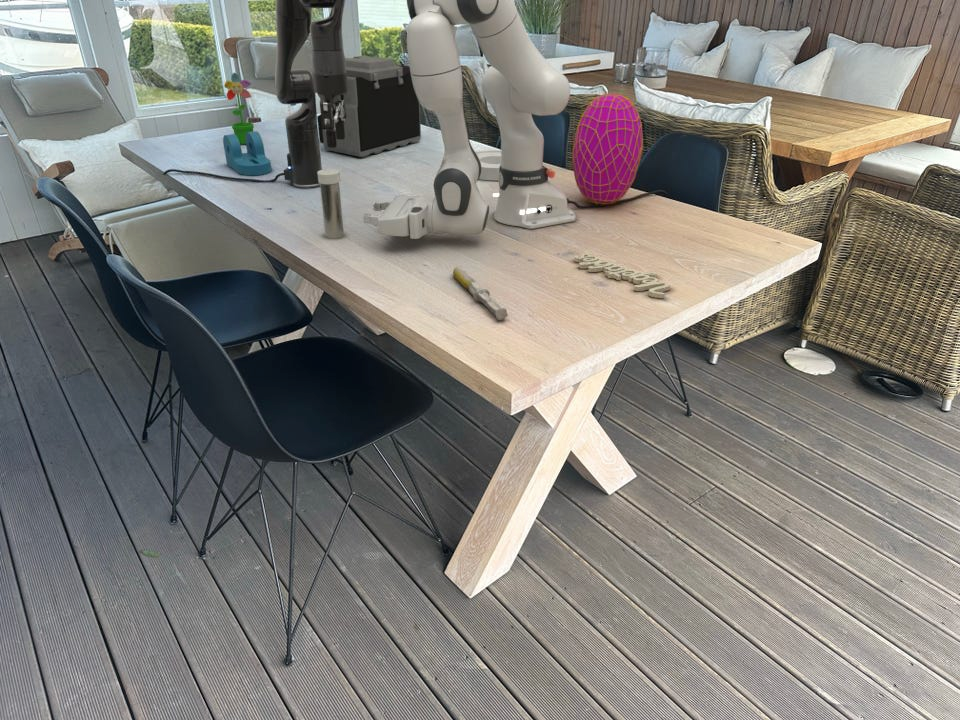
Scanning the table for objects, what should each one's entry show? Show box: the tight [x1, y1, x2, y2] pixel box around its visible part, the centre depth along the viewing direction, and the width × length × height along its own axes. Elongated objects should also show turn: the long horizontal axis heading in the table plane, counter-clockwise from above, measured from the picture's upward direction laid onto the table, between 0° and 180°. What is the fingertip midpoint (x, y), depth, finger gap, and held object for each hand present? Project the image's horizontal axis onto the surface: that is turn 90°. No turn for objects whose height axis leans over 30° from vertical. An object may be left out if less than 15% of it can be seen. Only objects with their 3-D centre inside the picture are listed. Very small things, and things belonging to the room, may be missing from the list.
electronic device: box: [310, 55, 422, 159], centre depth 250 cm, size 37×22×30 cm, turn 144°
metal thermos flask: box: [319, 182, 345, 240], centre depth 172 cm, size 5×5×16 cm
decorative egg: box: [571, 92, 644, 205], centre depth 194 cm, size 19×19×30 cm
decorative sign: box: [574, 252, 671, 299], centre depth 155 cm, size 26×1×10 cm
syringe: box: [452, 266, 509, 321], centre depth 145 cm, size 25×4×3 cm, turn 21°
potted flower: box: [223, 72, 255, 145], centre depth 254 cm, size 9×8×25 cm
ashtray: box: [475, 149, 501, 182], centre depth 229 cm, size 23×23×4 cm
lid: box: [317, 168, 341, 184], centre depth 168 cm, size 5×5×2 cm
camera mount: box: [222, 131, 272, 176], centre depth 226 cm, size 18×10×10 cm, turn 35°
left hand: (336, 143), depth 166 cm, fingers open, 8 cm apart
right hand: (369, 212), depth 171 cm, fingers open, 8 cm apart
